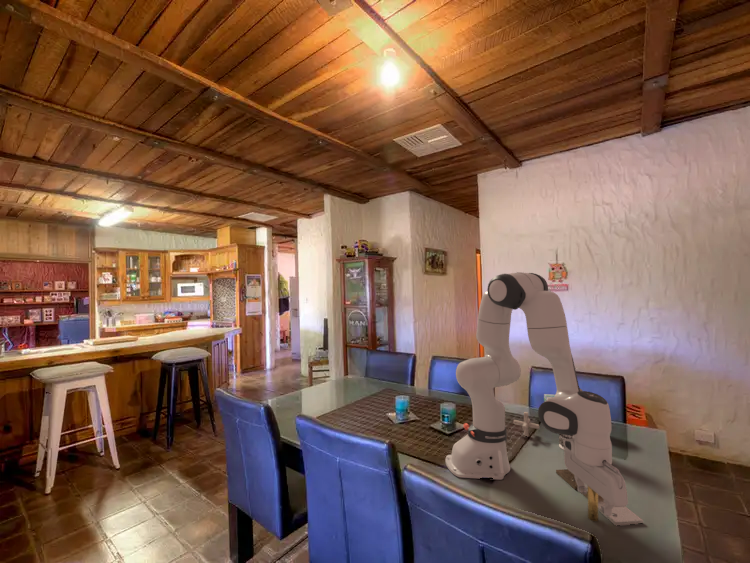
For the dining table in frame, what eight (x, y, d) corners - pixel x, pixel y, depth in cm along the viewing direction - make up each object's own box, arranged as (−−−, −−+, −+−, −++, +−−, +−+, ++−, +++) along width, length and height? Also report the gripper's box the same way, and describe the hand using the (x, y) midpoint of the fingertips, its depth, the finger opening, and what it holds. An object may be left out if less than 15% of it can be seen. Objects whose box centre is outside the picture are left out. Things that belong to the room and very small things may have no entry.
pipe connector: (540, 434, 150) (540, 411, 150) (537, 443, 142) (537, 418, 142) (516, 429, 155) (515, 406, 155) (511, 437, 147) (511, 413, 147)
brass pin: (592, 521, 95) (591, 488, 95) (586, 516, 97) (585, 483, 97) (600, 521, 95) (600, 488, 95) (594, 515, 97) (593, 483, 97)
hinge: (643, 523, 94) (642, 509, 94) (615, 525, 93) (615, 510, 93) (577, 471, 120) (577, 460, 120) (555, 472, 119) (555, 461, 119)
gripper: (634, 471, 86) (635, 528, 85) (579, 436, 106) (580, 481, 106) (610, 473, 85) (611, 529, 85) (559, 437, 106) (560, 483, 105)
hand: (593, 502), depth 96 cm, fingers open, 8 cm apart
